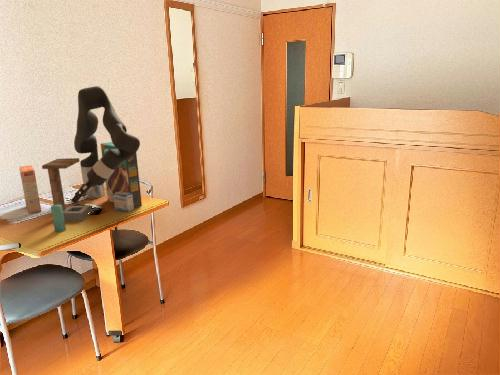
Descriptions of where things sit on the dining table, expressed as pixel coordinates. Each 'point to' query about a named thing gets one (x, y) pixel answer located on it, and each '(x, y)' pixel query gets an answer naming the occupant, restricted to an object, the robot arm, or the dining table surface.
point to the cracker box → (30, 189)
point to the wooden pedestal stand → (58, 178)
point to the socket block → (76, 213)
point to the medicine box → (123, 201)
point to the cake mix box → (123, 177)
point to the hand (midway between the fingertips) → (77, 198)
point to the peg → (58, 218)
